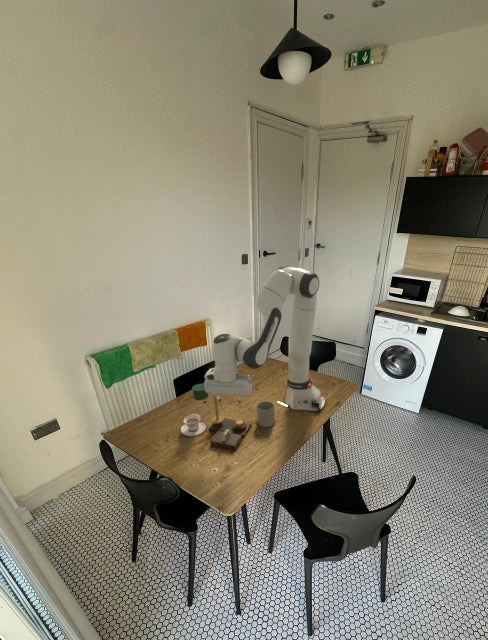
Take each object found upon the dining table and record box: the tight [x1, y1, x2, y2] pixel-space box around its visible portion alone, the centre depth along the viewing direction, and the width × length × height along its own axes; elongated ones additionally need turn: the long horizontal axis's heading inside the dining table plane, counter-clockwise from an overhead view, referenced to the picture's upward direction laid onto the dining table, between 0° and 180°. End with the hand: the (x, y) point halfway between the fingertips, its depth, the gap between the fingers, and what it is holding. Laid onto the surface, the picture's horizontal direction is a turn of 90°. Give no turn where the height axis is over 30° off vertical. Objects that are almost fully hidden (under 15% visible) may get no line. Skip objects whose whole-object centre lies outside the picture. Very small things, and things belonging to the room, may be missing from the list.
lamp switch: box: [236, 419, 244, 427], centre depth 154 cm, size 4×4×2 cm
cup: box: [256, 400, 275, 428], centre depth 160 cm, size 8×8×10 cm
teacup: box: [180, 413, 207, 437], centre depth 155 cm, size 12×12×6 cm
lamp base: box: [208, 417, 252, 439], centre depth 157 cm, size 18×10×4 cm, turn 74°
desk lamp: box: [191, 383, 225, 424], centre depth 154 cm, size 14×7×17 cm, turn 74°
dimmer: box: [209, 431, 243, 452], centre depth 147 cm, size 12×9×3 cm
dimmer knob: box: [222, 429, 230, 441], centre depth 146 cm, size 5×2×3 cm, turn 164°
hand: (230, 401), depth 140 cm, fingers open, 8 cm apart
